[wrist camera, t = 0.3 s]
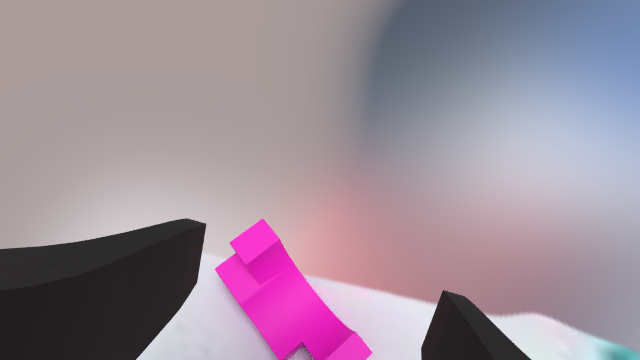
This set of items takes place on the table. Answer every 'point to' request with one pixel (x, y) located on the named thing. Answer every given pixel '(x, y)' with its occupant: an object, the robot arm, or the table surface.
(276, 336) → the toy block
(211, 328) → the table surface
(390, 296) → the table surface
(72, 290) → the robot arm
